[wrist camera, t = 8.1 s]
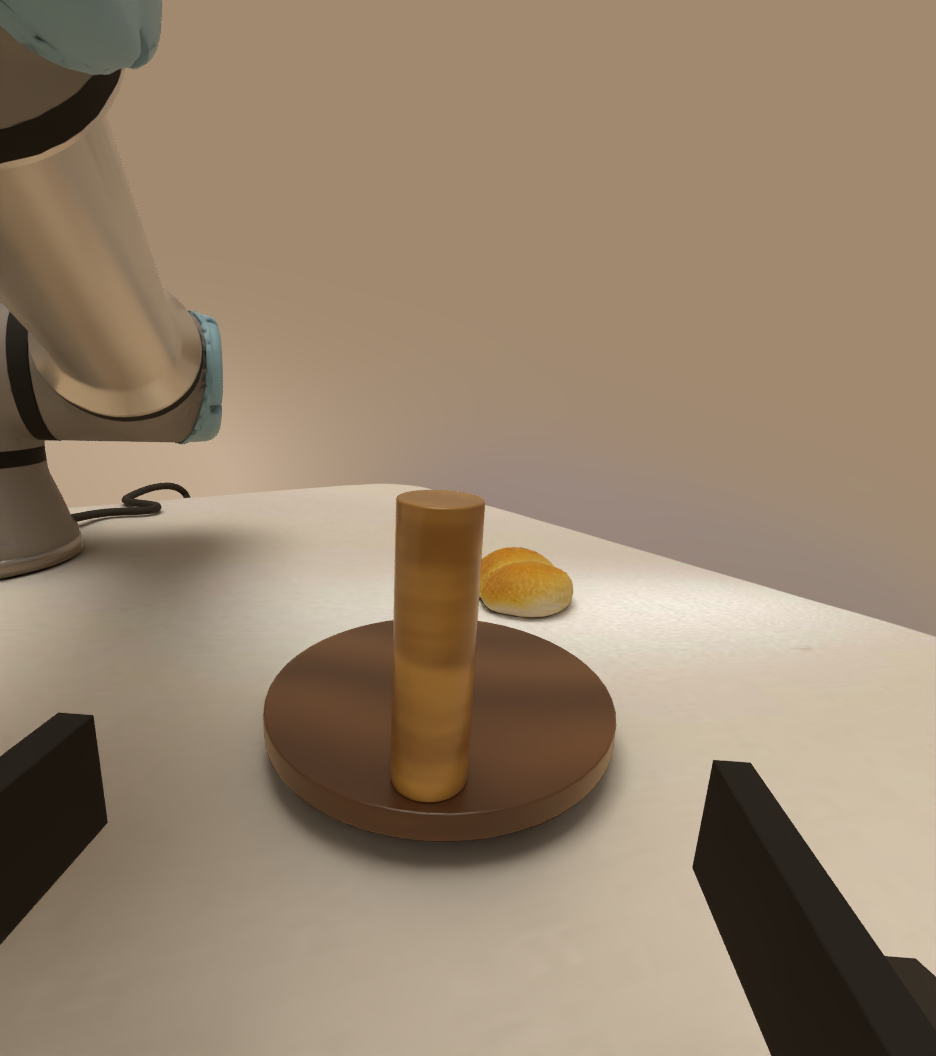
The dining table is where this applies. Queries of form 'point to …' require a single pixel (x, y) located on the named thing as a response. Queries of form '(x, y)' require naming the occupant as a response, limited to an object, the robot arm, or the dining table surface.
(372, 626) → the turntable
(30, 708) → the dining table surface
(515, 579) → the bread roll
